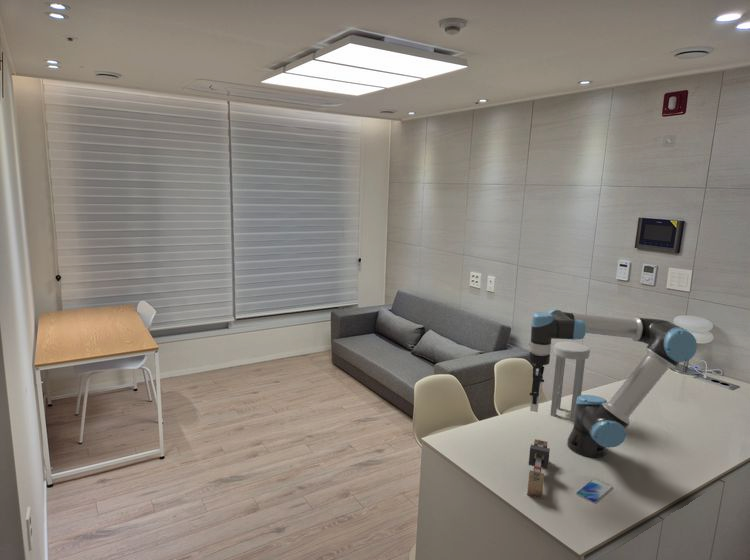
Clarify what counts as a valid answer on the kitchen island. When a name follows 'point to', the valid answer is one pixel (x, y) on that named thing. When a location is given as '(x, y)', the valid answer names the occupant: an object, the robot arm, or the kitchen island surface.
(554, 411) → the stool
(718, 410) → the kitchen island surface
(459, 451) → the kitchen island surface
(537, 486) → the sliding collar rod
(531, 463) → the grey rectangular sleeve
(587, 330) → the robot arm
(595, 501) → the smartphone
